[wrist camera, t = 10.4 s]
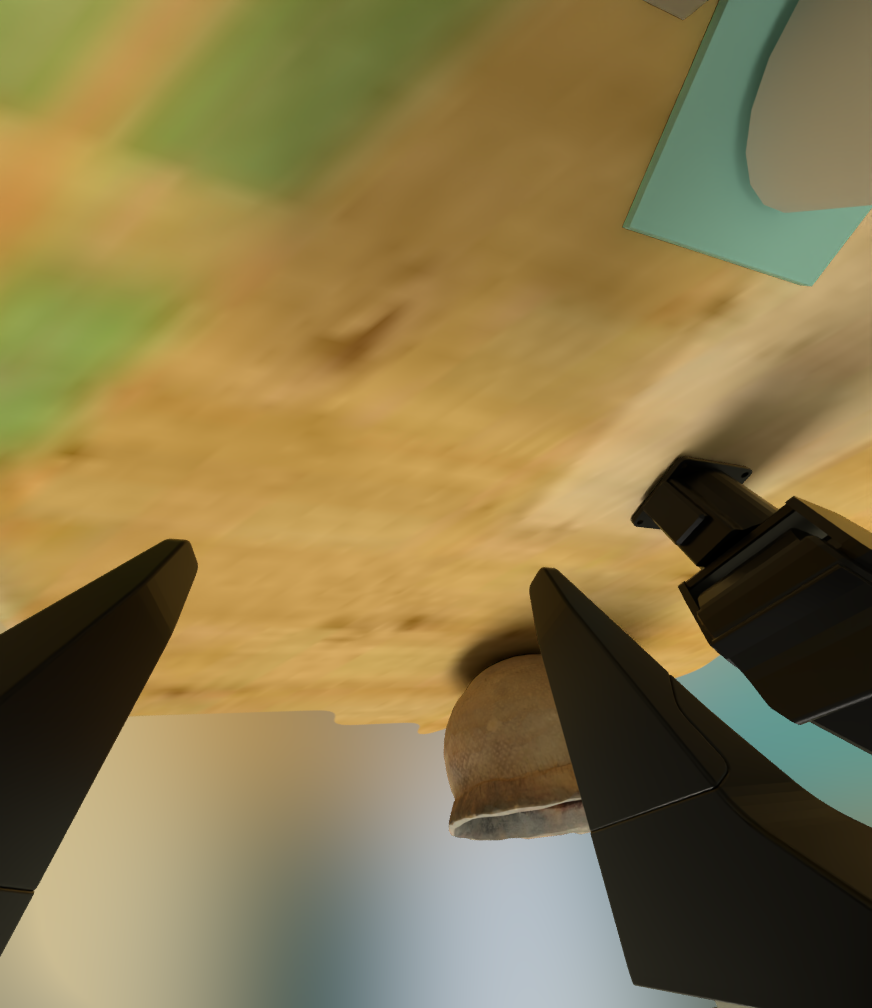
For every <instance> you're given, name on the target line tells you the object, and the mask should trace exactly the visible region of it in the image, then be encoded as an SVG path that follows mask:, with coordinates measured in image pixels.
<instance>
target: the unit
mask: <svg viewBox="0 0 872 1008" xmlns="http://www.w3.org/2000/svg"><path fill="white" fill-rule="evenodd" d="M644 1H646V2H648V3H650V4H652V5H654V6H656V7H658V8H660V9H662V10H664V11H666V12H668V13H670V14H672V15H674V16H676V17H678V18H680V19H682V20H684V19H685V18H687V17H688V16H689V15H690V14H692V13H693V12H694V11H695V10H697V9H698V8H699V7H700V6H702V5H703V4H704V3H705V2H707V1H708V0H644Z"/></svg>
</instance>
